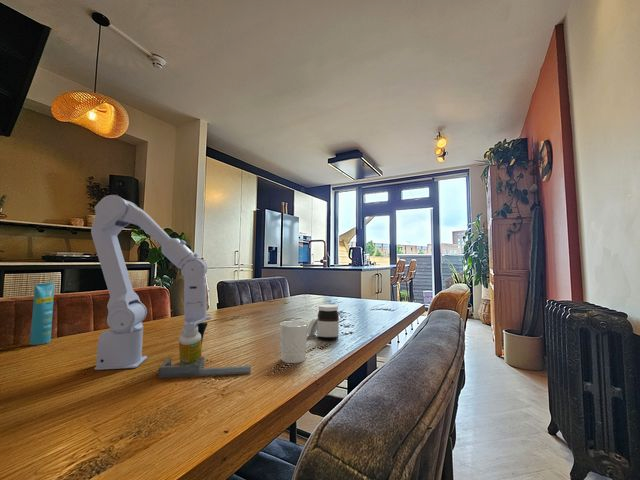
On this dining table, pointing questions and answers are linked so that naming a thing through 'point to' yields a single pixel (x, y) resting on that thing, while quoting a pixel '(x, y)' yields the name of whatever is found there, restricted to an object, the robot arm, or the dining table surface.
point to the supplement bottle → (190, 346)
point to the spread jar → (325, 323)
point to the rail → (197, 370)
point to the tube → (42, 314)
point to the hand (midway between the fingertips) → (196, 351)
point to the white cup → (293, 341)
